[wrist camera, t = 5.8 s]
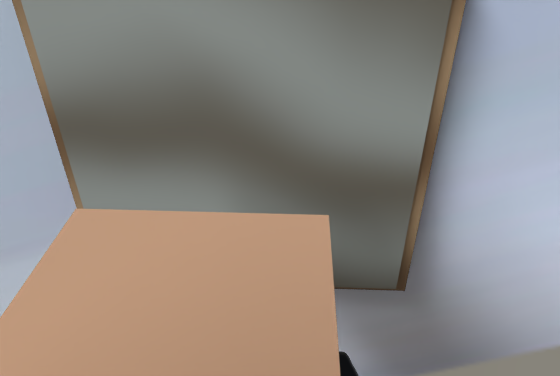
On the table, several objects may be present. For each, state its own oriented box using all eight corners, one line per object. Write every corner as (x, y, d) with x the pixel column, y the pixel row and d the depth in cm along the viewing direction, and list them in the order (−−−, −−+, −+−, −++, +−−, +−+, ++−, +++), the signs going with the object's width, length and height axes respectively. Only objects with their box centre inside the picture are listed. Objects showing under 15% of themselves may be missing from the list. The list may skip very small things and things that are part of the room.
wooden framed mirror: (394, 249, 21) (406, 297, 19) (119, 241, 22) (95, 288, 19) (452, -71, 14) (483, -59, 12) (39, -70, 15) (-16, -60, 12)
